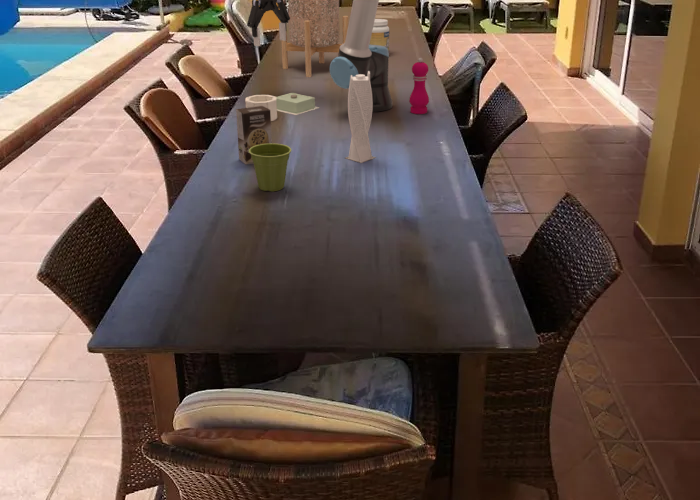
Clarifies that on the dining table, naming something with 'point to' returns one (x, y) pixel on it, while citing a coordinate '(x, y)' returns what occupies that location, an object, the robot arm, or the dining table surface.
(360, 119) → the skyscraper
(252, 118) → the coffee box
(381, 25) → the supplement tub
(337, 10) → the planter
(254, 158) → the plant pot
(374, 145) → the dining table surface
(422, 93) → the pepper mill
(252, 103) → the bowl
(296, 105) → the lid
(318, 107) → the mat
